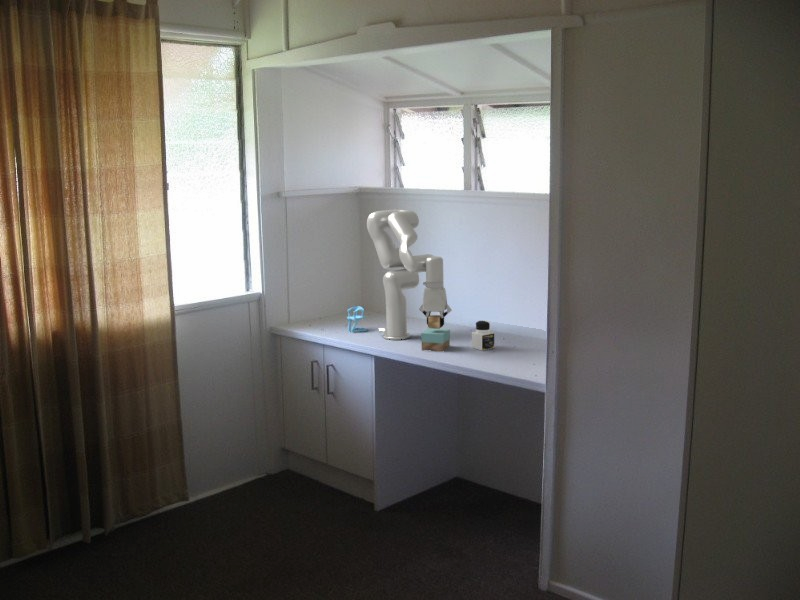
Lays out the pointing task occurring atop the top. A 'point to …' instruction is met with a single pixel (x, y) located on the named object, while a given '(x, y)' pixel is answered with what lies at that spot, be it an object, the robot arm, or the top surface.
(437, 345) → the walnut slab
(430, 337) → the teal slab
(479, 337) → the medicine bottle
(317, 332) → the top surface
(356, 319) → the chair
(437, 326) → the oak block
